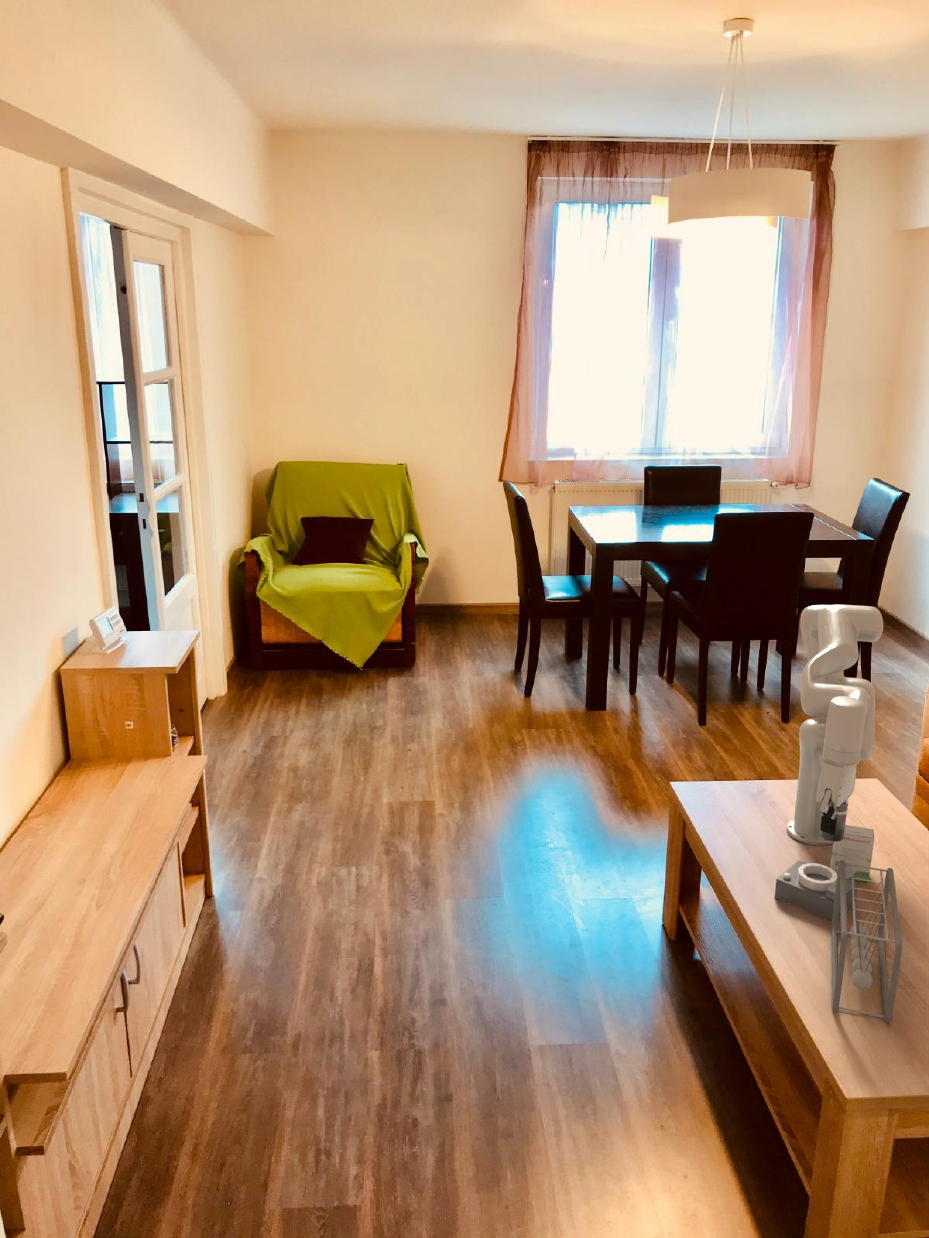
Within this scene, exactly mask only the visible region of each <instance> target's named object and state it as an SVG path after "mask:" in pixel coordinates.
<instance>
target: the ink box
mask: <svg viewBox="0 0 929 1238" xmlns="http://www.w3.org/2000/svg"><path fill="white" fill-rule="evenodd" d="M874 842H875V831H874V829H873V828H867V827H863V826H855V825H848V824H845V830H844V838H843V840H841V841H838V842H834V841H833V843H832V850H831V851H832V852H831V856H830V857H831V859H830V863H829V865H830V866H829V867H830V868H831V869H832V870H834V871H835V872H836V873H837V875H838V867H839V862H840V860H844V861H845V863H847V864H853V865H859V866H865V867H871V865H872V859H873V852H874V851H873V850H874V845H875V843H874ZM871 868H872V867H871ZM845 871H846V879H849V880H852V876H851V866H847V865H845ZM870 873H871V869H866V868H860V867H854V866H853V875H854V878H858V879H855V881H859V882H864V883H868V882H869V881H867V880H869V879H870ZM861 879H864V880H861Z"/></svg>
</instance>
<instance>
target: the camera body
mask: <svg viewBox="0 0 929 1238" xmlns="http://www.w3.org/2000/svg"><path fill="white" fill-rule="evenodd" d="M837 876H838V875H837V873H836V872H835V871H834V870H832V869H831V868H830V866H826V865H823V864H821V863H814V862H810V863H807V862H805V861H802V860H797V861H796V862H795V863H793V864H792V865H791V866H790V867H788V869H786V870H785V871H784V872H782V873H781V874H780V875H779V876H778V877H777V878H776V879H775V889H774V898H775V899H777V900H778V901H781V902H784V903H786V904H788V905H791V906H793V907H796V908H798V909H799V910H802V911H805V912H807V913H810V914H811V915H814V916H816V917H819V918H821V919H824V920H826V921H827V922H830V923H832V917H833V908H834V900H835V892H836V884H837ZM855 886H856V888H858V882H856V881H855V884H854V888H855ZM857 890H858V889H856V892H858V891H857ZM854 897H855V890H854ZM846 903H847V910H849V909H850V908H851V907H853V900H852V879H846ZM840 918H841V906H839V914H838V919H840Z"/></svg>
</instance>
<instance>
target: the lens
mask: <svg viewBox="0 0 929 1238" xmlns="http://www.w3.org/2000/svg"><path fill="white" fill-rule="evenodd" d="M830 803H832V804H834V803H833V802H832V801H830ZM847 806H849V804H848V805H847V803H846V802H844V803H843V804H841V805H840V806H839V807H838V808H837V813H836V817H835V818H837V823H836V832H835V834H834V835H831V834H828V833H826V832H823V831H821V836H822V837H823V838H824V839H826V840H829V841H834V842H838V841H841V840H843V838H844V830H845V825H846V823H847V815H846V814H848V807H847ZM829 810H831V811H833V808H832V807H829ZM845 822H846V823H845Z"/></svg>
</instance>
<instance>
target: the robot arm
mask: <svg viewBox="0 0 929 1238" xmlns="http://www.w3.org/2000/svg"><path fill="white" fill-rule="evenodd" d="M883 631H884V620H883V616H882V613H881V612H880V609H878V608H877V607H875V606H871V605H870V606H868V605H853V604H815V605H814V604H813V605H810V606H809V605H808V606H807V607H805V608H804V609H803V610H802V611H801V615H800V633H801V637H802V638H801V639H802V641H803V645H804V647H805V651H806V654H807V663H806V665H805V666H804V667H803V670H802V672H801V675H800V683H799V684H800V686H799V687H800V705H801V709H802V711H803V712H804V714H806V715H807V716H808V717H809V716H810V717H814V718H808V719H806V720H805V721H803V722H802V723H801V725H800V726H799V733H798V738H799V768H798V779H797V789H796V797H795V809H794V816H793V817H794V818H793V819H791V820H790V821H788V823H787V824H786V831H787V834H789V836H790V837H792V838H793V839H794V840H796V841H798V842H801V843H804V844H807V845H813V846H828V845H831V844H832V845H833V841H829V840H826V839H824V838H823V837H822V836H821V831H823V832H826V833H828V834H831V835H834V834H835V832H836V823H837V818H835V817H836V813H837V808H838V807H839V806H840V805H841V804H843V803H844V802H846V803H847V805H848V806H849V798H850V797H851V796H852V795H853V793H854V791H855V785H856V778H857V766H858V765H859V764H860V762H861V761H866V760H869V759H870V758H871V757H872V755H873V753H874V748H875V740H876V739H875V735H876V732H875V728H876V727H875V726H876V721H875V720H876V694H875V693H876V692H875V688H874V686H873V684H872V683H871V682H870V680H867V679H865V678H859V677H846V676H845V675H844V671H845V670H847V669H849V668H851V667H852V666H854V665H855V664H856V663H857V661H858V659H859V654H860V653H859V648H858V647H859V646H858V642H866V643H867V642H868V643H876V642H878V641H879V640H880V638H881V637H882V635H883V633H884V632H883ZM830 801H832V802H833V803H834V804H832V803H830ZM848 806H847V808H848ZM829 807H832V808H833V811H831V810H829ZM847 814H848V813H847ZM847 814H846V816H847ZM846 823H847V821H846V822H845V824H846Z"/></svg>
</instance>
